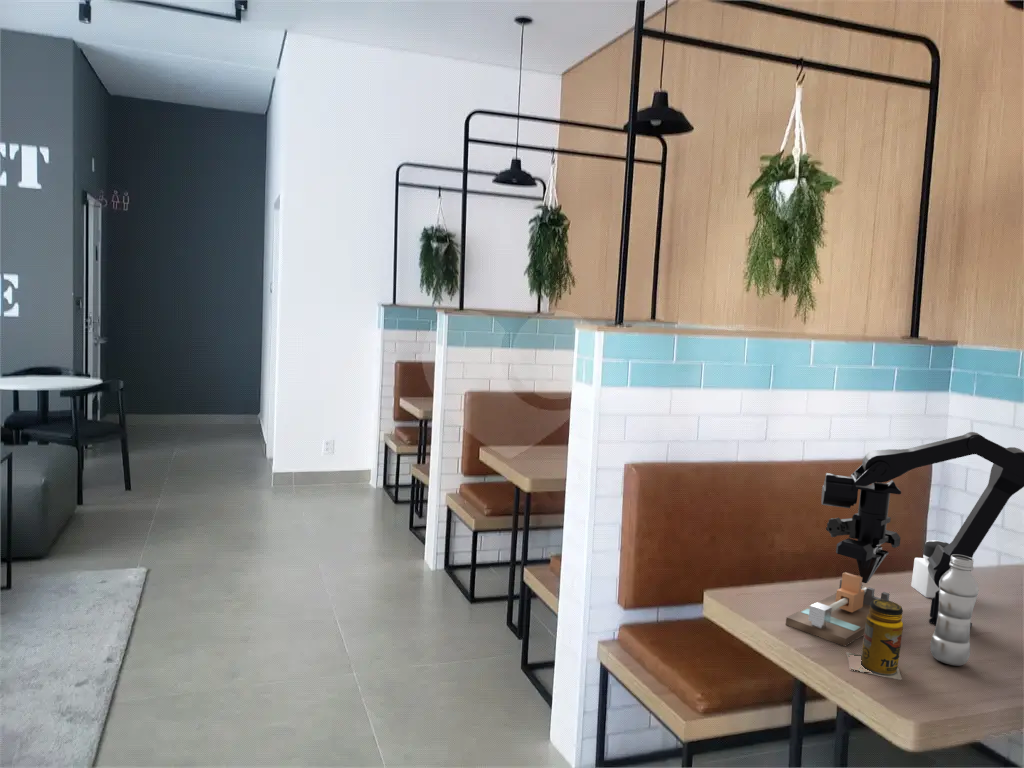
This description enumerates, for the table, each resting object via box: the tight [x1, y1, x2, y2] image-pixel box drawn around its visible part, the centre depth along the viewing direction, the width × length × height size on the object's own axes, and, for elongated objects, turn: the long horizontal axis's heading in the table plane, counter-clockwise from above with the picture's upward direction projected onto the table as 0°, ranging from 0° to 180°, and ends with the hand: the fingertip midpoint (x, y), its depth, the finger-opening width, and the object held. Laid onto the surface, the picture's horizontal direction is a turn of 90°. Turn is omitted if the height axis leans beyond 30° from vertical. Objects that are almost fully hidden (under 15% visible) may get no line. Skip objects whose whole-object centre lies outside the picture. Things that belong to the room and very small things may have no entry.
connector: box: [808, 601, 832, 629], centre depth 155 cm, size 3×3×4 cm
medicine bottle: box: [910, 539, 950, 599], centre depth 182 cm, size 7×7×12 cm
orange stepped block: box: [836, 571, 865, 612], centre depth 164 cm, size 4×5×7 cm
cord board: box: [785, 592, 870, 647], centre depth 163 cm, size 12×23×2 cm, turn 134°
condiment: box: [845, 599, 904, 681], centre depth 142 cm, size 7×8×12 cm
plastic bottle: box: [929, 554, 980, 667], centre depth 145 cm, size 6×7×20 cm
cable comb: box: [838, 579, 890, 606], centre depth 170 cm, size 10×1×4 cm, turn 44°
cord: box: [829, 587, 868, 612], centre depth 163 cm, size 1×20×1 cm, turn 134°
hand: (864, 582), depth 169 cm, fingers closed
